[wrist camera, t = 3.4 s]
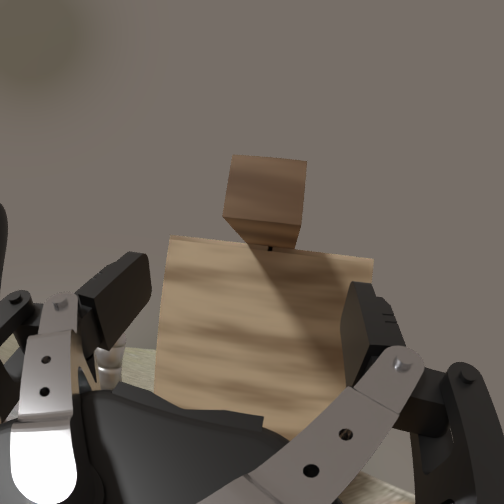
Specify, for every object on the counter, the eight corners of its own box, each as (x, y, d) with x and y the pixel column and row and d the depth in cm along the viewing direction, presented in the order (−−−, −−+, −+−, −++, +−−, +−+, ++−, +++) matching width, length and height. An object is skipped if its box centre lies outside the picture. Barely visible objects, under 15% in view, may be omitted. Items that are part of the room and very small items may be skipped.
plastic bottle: (97, 396, 48) (99, 304, 50) (127, 403, 49) (131, 310, 51) (87, 408, 41) (88, 307, 43) (120, 417, 42) (123, 315, 44)
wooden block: (305, 531, 20) (373, 259, 23) (155, 504, 22) (170, 234, 25) (301, 458, 38) (336, 269, 41) (195, 442, 40) (215, 254, 43)
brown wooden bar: (301, 225, 14) (306, 161, 15) (222, 216, 15) (232, 154, 15) (289, 264, 42) (292, 240, 42) (262, 260, 42) (265, 237, 43)
